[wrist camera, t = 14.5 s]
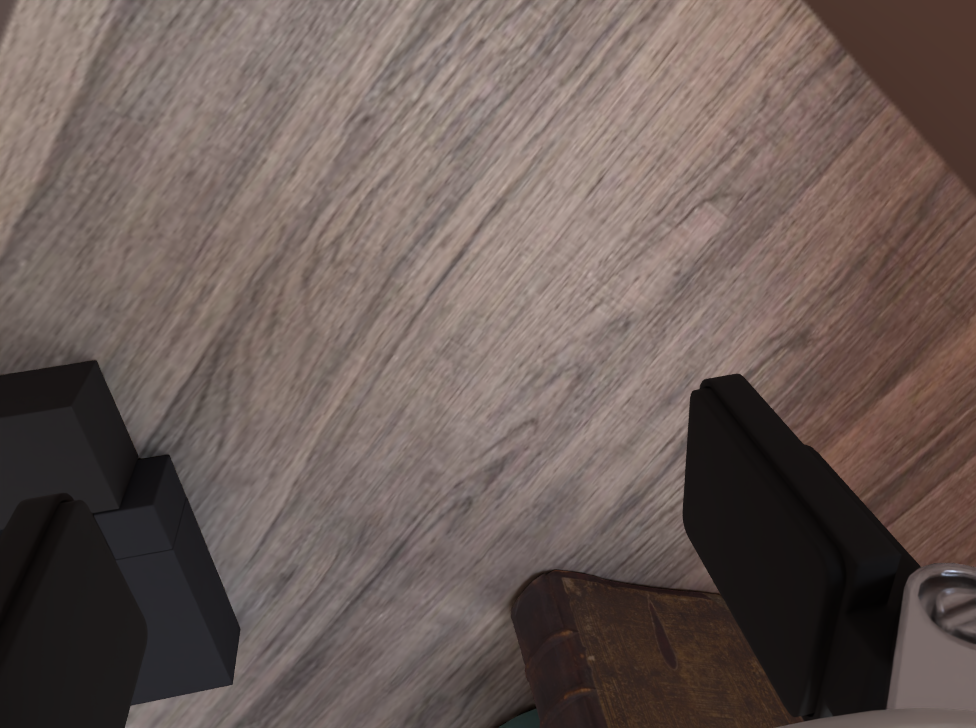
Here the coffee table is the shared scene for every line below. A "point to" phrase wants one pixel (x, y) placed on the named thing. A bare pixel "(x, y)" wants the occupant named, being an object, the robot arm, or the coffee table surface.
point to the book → (638, 658)
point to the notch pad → (171, 586)
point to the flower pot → (524, 721)
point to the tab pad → (62, 439)
